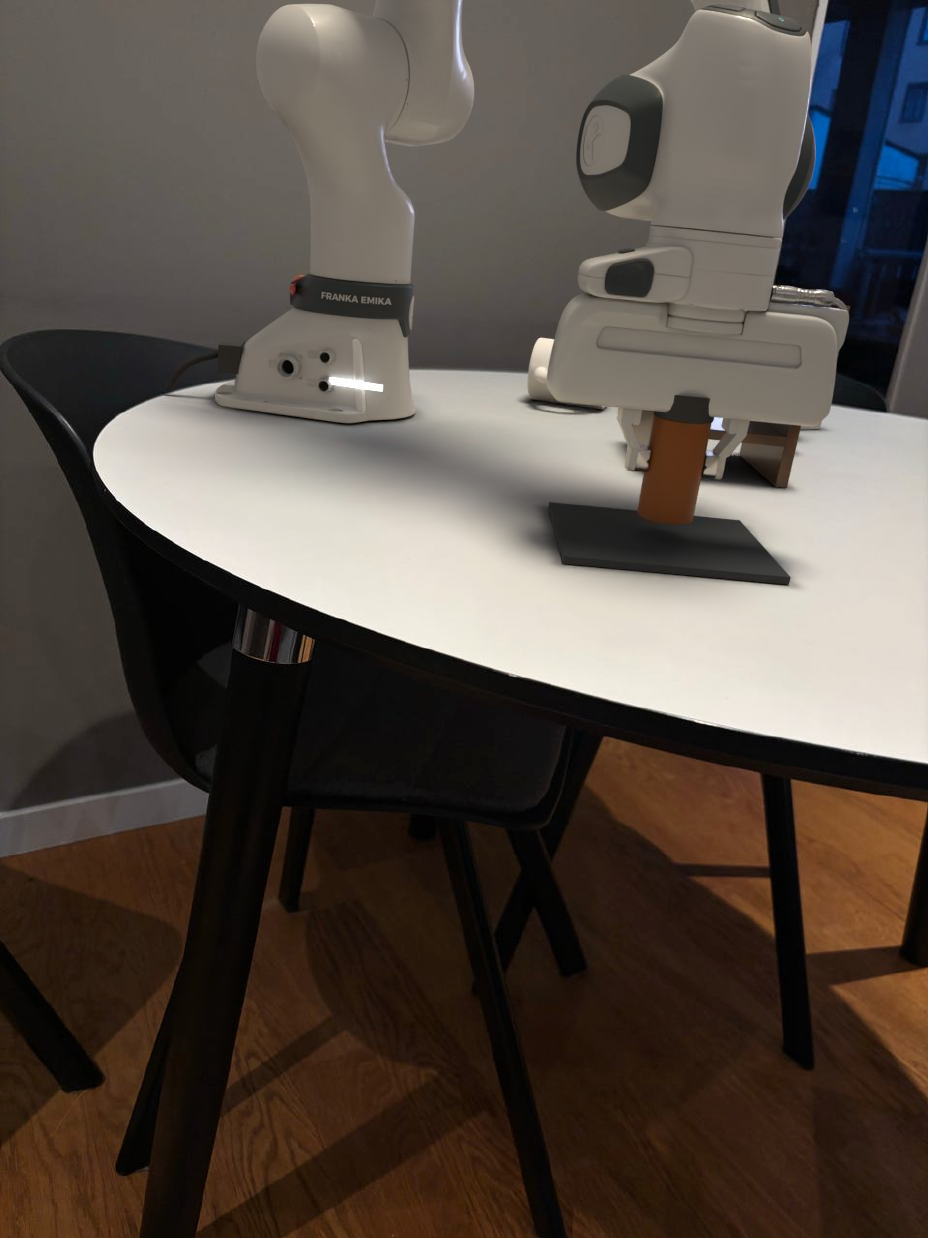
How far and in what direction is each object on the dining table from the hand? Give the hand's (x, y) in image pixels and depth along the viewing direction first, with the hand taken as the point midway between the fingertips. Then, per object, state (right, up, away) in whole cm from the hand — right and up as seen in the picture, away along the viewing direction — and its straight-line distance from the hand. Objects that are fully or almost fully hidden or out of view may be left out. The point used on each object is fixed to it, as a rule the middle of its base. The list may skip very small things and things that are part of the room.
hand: (671, 473), depth 73 cm
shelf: (+9, +5, +30) cm, 32 cm away
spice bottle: (0, -3, +1) cm, 3 cm away
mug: (-2, +17, +56) cm, 58 cm away
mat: (-1, -5, +2) cm, 6 cm away
